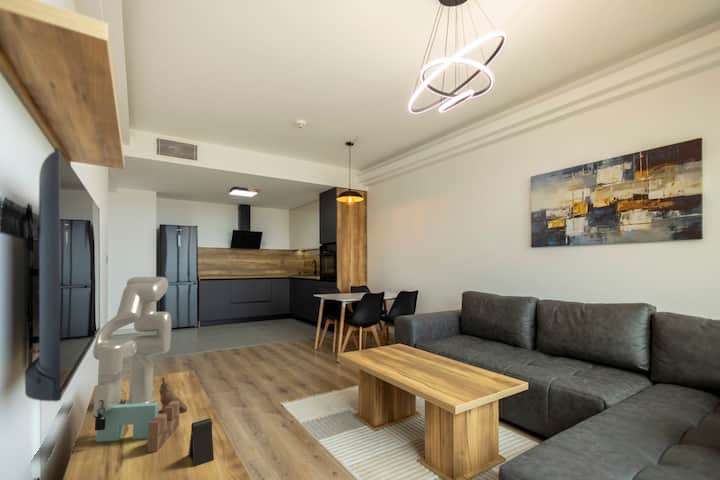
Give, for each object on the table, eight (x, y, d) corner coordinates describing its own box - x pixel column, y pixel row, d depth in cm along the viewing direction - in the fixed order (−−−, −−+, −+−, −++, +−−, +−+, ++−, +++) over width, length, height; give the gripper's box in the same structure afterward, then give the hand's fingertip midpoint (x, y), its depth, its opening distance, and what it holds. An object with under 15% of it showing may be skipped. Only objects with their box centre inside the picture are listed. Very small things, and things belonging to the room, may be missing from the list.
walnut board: (171, 425, 140) (171, 400, 141) (178, 425, 141) (179, 400, 142) (147, 452, 121) (149, 422, 121) (157, 451, 121) (158, 422, 122)
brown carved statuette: (158, 424, 147) (149, 384, 146) (157, 419, 152) (149, 380, 151) (188, 412, 154) (180, 373, 153) (187, 407, 158) (179, 370, 157)
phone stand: (213, 460, 116) (214, 423, 117) (194, 466, 112) (195, 428, 113) (206, 448, 123) (207, 414, 124) (188, 454, 119) (189, 418, 120)
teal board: (101, 437, 131) (102, 405, 132) (157, 434, 134) (158, 402, 134) (96, 441, 128) (97, 408, 129) (153, 437, 131) (155, 405, 132)
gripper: (112, 371, 139) (110, 415, 138) (84, 385, 122) (81, 435, 121) (132, 370, 140) (130, 413, 139) (107, 384, 123) (105, 434, 122)
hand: (107, 423), depth 130 cm, fingers open, 9 cm apart
